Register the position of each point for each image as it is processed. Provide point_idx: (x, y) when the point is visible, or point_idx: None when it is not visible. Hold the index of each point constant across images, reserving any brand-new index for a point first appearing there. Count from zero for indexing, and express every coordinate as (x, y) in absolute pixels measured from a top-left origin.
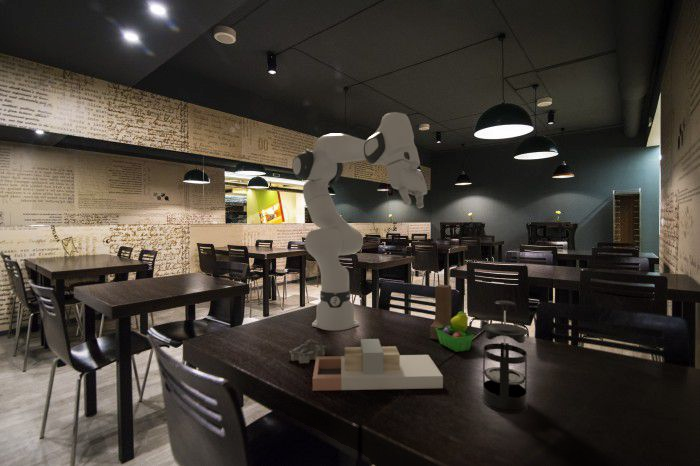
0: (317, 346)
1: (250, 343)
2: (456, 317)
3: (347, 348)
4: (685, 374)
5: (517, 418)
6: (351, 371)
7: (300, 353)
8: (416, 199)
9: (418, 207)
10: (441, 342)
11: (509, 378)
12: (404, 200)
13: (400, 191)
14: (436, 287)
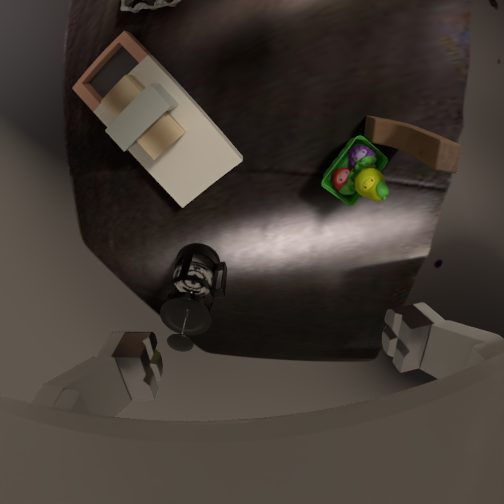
0: None
1: None
2: (367, 184)
3: (123, 82)
4: (358, 358)
5: None
6: None
7: (122, 4)
8: (469, 337)
9: (385, 318)
10: (347, 143)
11: (190, 284)
12: (106, 355)
13: (44, 401)
14: (437, 142)
